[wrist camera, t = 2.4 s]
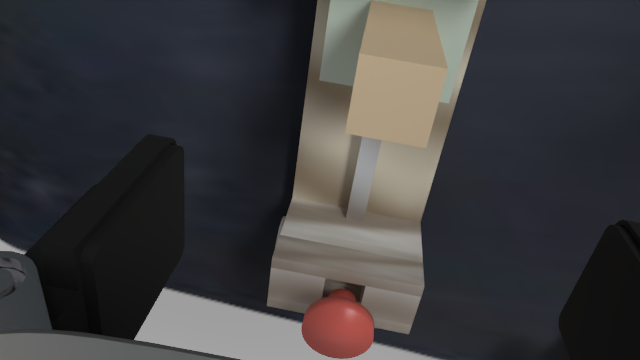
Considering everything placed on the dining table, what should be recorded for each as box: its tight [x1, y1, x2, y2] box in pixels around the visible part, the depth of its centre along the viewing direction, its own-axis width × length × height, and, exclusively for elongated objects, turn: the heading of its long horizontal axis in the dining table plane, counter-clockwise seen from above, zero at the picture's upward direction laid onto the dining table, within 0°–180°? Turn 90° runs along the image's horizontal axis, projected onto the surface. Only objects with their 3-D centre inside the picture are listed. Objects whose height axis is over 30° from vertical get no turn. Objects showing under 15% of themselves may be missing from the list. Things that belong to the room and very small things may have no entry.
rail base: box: [267, 0, 486, 334], centre depth 28 cm, size 25×9×8 cm, turn 172°
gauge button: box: [302, 288, 374, 359], centre depth 29 cm, size 4×4×3 cm
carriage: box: [319, 0, 479, 148], centre depth 23 cm, size 6×7×12 cm
